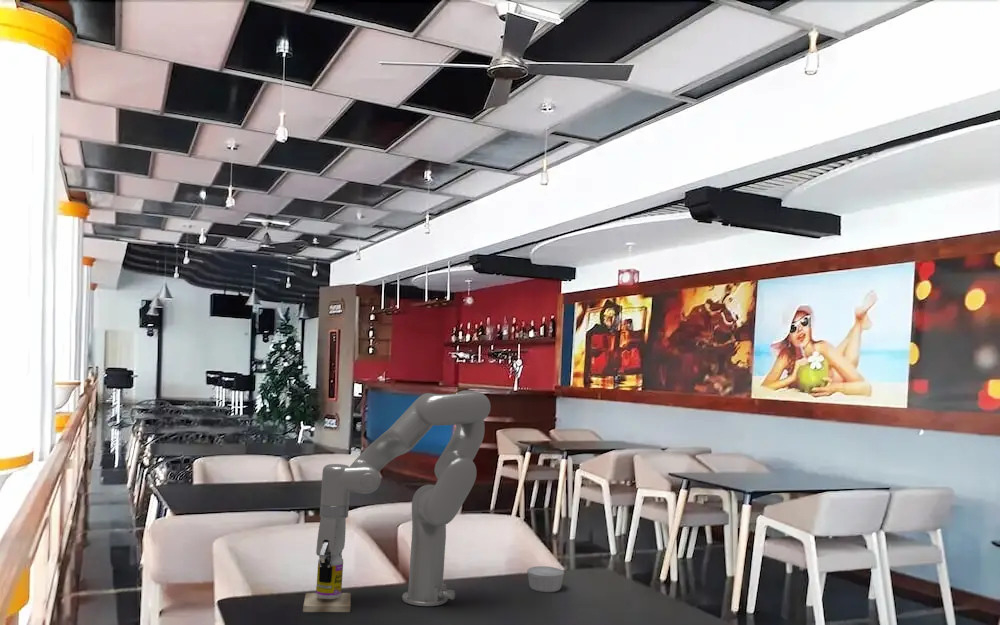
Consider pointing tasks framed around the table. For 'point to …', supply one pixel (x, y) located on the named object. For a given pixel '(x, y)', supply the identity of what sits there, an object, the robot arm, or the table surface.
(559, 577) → the ramekin
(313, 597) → the birch board
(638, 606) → the table surface
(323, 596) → the supplement bottle
